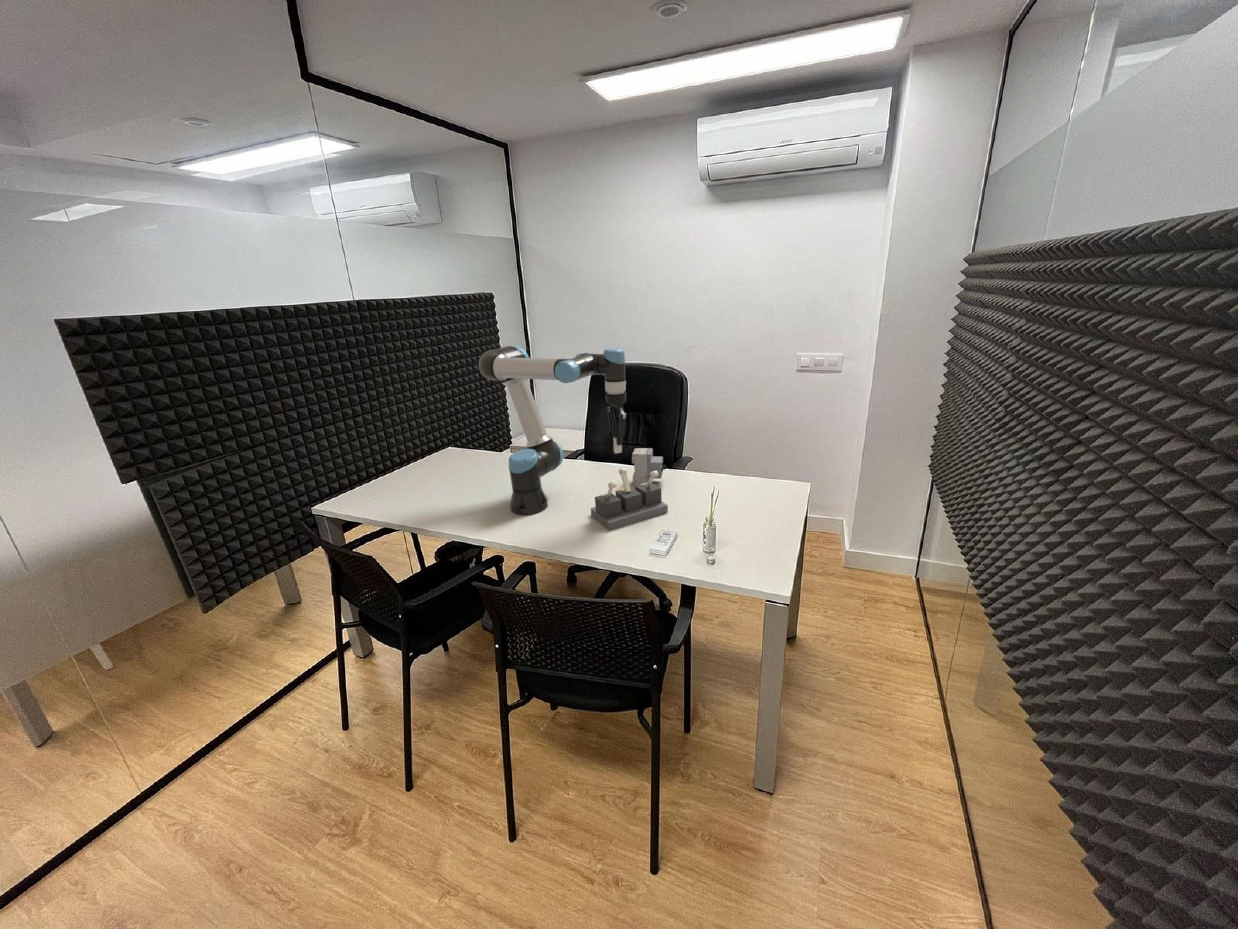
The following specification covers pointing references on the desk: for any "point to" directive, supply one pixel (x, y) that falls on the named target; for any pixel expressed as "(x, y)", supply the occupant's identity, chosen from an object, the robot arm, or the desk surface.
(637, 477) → the circuit breaker
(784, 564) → the desk surface
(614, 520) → the breaker board
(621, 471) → the handle
